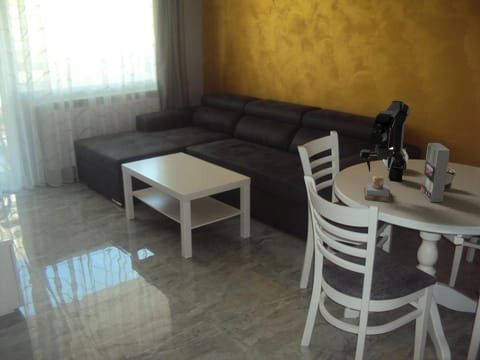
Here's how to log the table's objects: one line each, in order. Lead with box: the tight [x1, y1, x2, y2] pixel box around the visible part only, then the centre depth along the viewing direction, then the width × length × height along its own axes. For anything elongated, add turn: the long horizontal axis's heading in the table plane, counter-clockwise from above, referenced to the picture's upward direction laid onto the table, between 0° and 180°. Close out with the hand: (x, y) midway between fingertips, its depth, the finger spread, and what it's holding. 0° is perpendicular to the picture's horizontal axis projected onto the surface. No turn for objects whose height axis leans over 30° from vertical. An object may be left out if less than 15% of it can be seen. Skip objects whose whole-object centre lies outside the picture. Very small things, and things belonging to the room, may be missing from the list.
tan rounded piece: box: [371, 175, 385, 189], centre depth 227 cm, size 5×5×5 cm
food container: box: [444, 167, 456, 191], centre depth 240 cm, size 12×6×10 cm, turn 65°
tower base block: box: [363, 186, 392, 202], centre depth 229 cm, size 12×12×2 cm
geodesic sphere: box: [382, 146, 409, 170], centre depth 267 cm, size 14×14×14 cm
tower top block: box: [365, 183, 390, 197], centre depth 228 cm, size 10×10×2 cm
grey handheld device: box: [419, 142, 451, 203], centre depth 224 cm, size 14×6×25 cm, turn 178°
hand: (379, 172), depth 225 cm, fingers open, 9 cm apart
